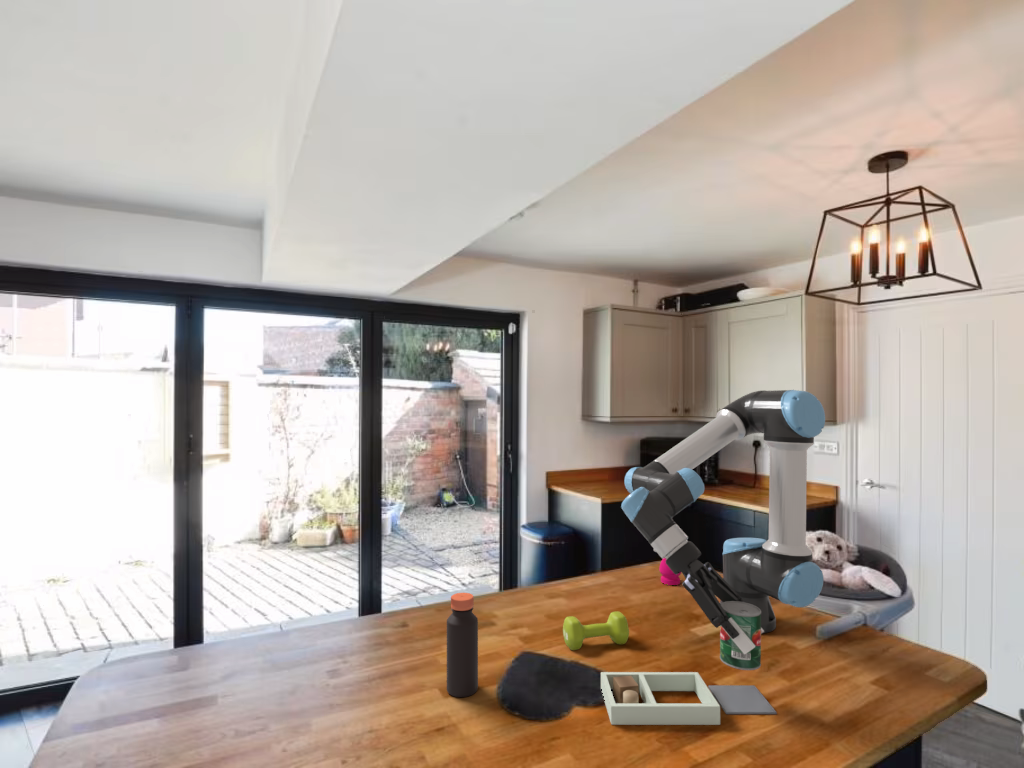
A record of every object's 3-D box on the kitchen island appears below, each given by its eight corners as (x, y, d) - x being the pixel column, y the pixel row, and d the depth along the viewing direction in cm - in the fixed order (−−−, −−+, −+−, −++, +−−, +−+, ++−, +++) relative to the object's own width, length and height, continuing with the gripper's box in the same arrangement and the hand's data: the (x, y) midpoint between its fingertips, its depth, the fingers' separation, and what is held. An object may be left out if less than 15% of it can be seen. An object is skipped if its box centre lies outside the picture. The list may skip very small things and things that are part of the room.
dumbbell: (618, 634, 146) (618, 607, 146) (632, 648, 138) (632, 619, 138) (560, 641, 142) (560, 613, 142) (570, 655, 134) (570, 625, 134)
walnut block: (631, 694, 116) (631, 675, 116) (638, 705, 112) (638, 685, 112) (613, 696, 116) (613, 677, 116) (620, 707, 112) (619, 687, 112)
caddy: (697, 688, 118) (697, 672, 118) (720, 724, 105) (720, 706, 105) (600, 688, 119) (600, 672, 119) (611, 724, 106) (611, 706, 106)
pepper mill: (682, 580, 187) (681, 521, 187) (681, 587, 180) (680, 526, 181) (660, 578, 189) (659, 520, 190) (658, 585, 183) (658, 525, 183)
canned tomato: (713, 652, 117) (713, 601, 117) (748, 651, 118) (748, 600, 118) (731, 671, 109) (731, 615, 109) (768, 670, 110) (769, 614, 110)
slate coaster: (754, 687, 119) (754, 685, 119) (776, 714, 109) (776, 712, 109) (708, 687, 119) (708, 685, 119) (726, 714, 109) (726, 712, 109)
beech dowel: (636, 709, 110) (636, 690, 111) (640, 718, 108) (639, 698, 108) (621, 709, 111) (621, 689, 111) (624, 718, 108) (624, 698, 108)
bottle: (470, 700, 114) (469, 604, 114) (440, 694, 116) (440, 600, 117) (482, 684, 120) (482, 593, 121) (455, 679, 123) (455, 589, 123)
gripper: (680, 549, 131) (751, 634, 122) (647, 571, 115) (728, 672, 105) (702, 530, 129) (777, 616, 119) (672, 550, 112) (758, 652, 102)
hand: (754, 642), depth 112 cm, fingers closed on canned tomato, 8 cm apart
